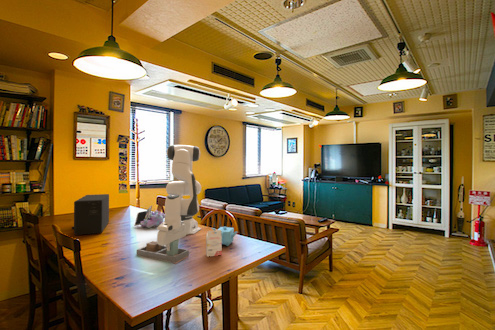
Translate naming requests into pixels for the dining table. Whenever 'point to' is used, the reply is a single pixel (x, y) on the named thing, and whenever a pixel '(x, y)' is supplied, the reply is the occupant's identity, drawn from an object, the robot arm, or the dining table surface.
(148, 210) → the purple rock
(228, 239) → the teapot
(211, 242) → the ink cartridge box
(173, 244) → the slate block
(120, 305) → the dining table surface
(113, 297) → the dining table surface
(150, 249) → the walnut block
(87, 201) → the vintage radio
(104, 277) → the dining table surface
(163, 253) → the tray
